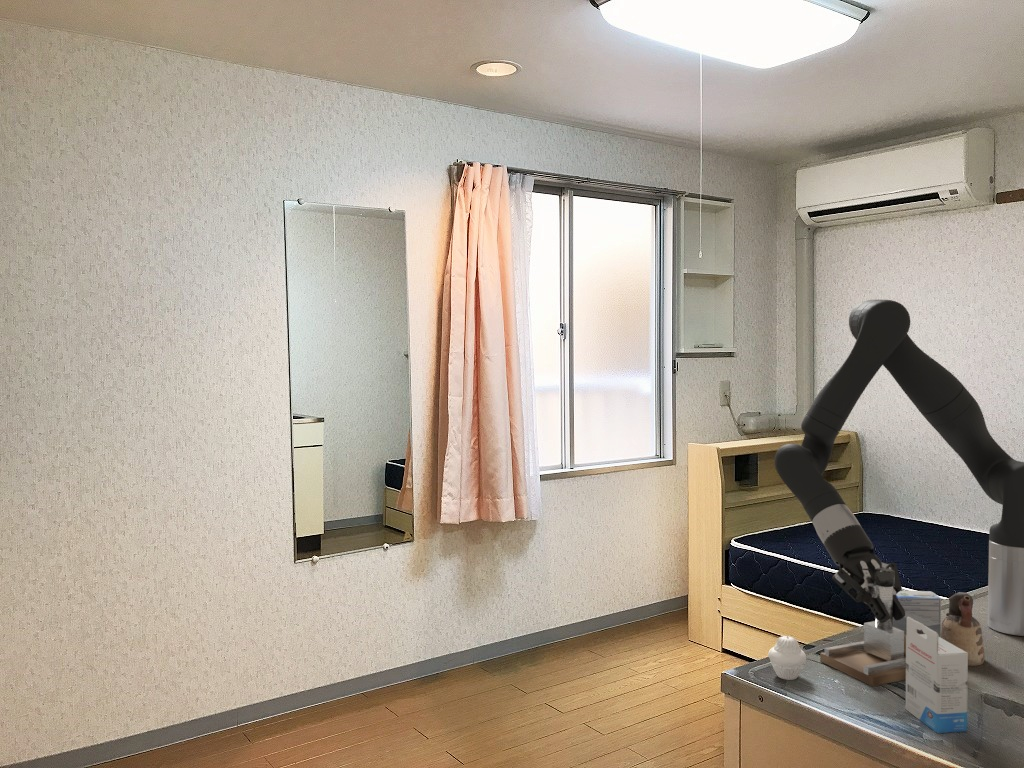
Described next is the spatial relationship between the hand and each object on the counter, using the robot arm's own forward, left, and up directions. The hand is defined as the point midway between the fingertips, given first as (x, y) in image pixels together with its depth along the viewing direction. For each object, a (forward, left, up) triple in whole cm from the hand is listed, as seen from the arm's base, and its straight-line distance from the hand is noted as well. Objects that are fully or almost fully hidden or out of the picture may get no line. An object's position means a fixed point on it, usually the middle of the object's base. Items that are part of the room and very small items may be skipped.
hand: (893, 618), depth 143 cm
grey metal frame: (0, -2, -7) cm, 8 cm away
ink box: (+10, +17, -9) cm, 22 cm away
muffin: (+19, -5, -9) cm, 21 cm away
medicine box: (-16, -10, -9) cm, 21 cm away
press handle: (0, -2, -7) cm, 7 cm away
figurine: (-15, +1, -9) cm, 18 cm away
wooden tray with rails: (0, -2, -9) cm, 9 cm away
